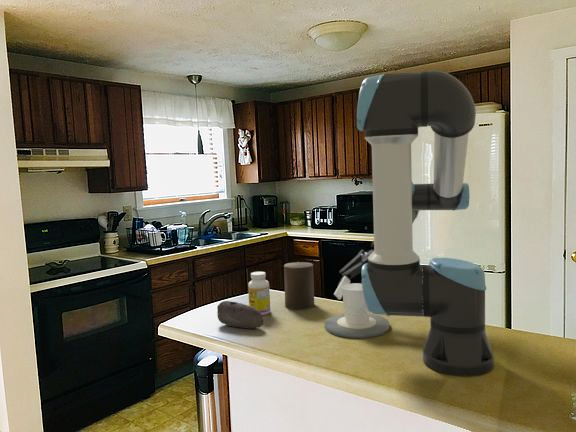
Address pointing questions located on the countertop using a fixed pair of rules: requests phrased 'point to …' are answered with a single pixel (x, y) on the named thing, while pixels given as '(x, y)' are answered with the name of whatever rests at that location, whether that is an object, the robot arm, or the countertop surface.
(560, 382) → the countertop surface
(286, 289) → the pillar candle
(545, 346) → the countertop surface
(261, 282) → the supplement bottle
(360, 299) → the white cup
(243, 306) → the perforated stone tool
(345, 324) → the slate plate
